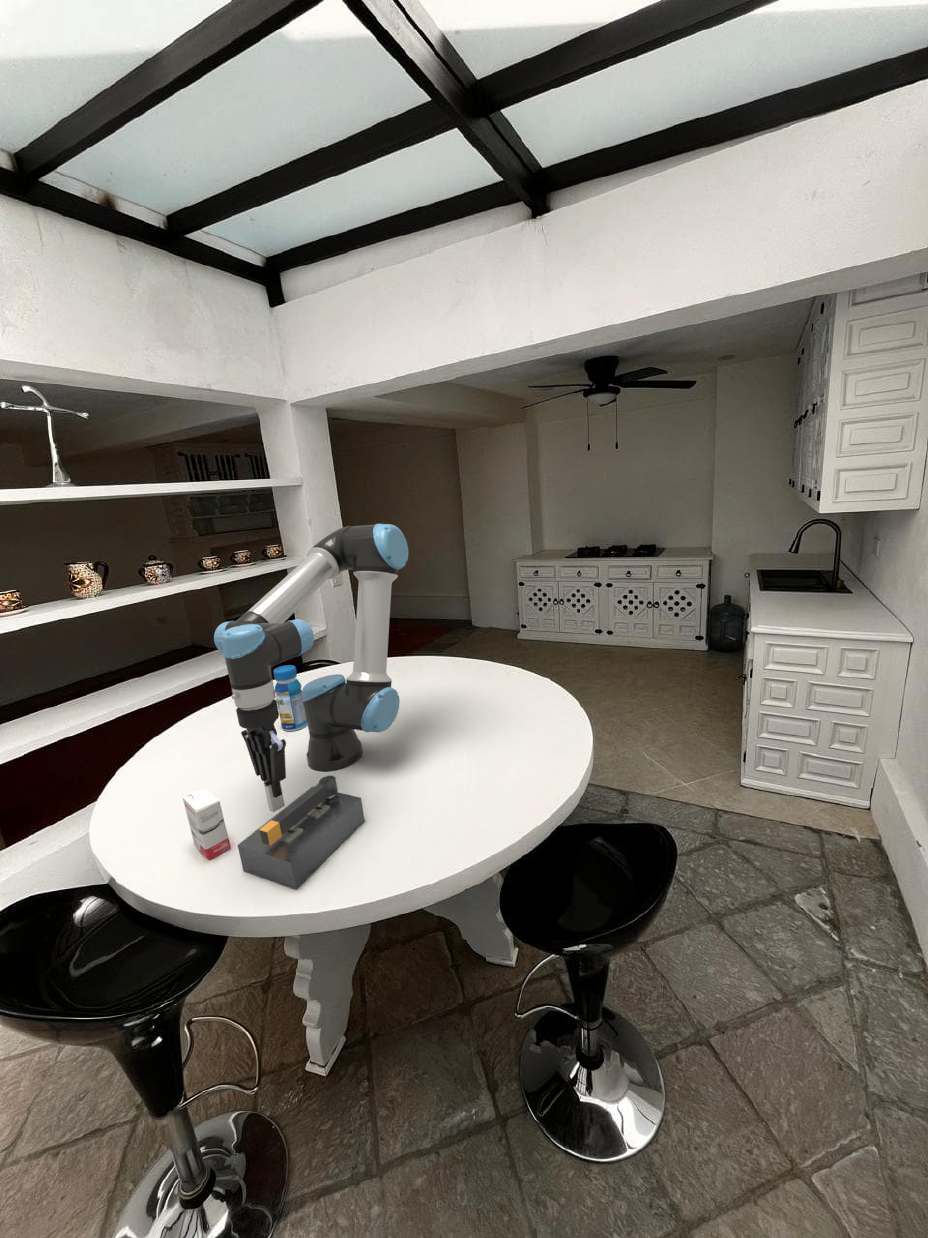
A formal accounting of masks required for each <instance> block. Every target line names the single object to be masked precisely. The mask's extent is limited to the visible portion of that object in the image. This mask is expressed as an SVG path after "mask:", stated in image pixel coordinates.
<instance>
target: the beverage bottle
mask: <svg viewBox="0 0 928 1238" xmlns="http://www.w3.org/2000/svg"><path fill="white" fill-rule="evenodd" d="M297 673H298V672H297V668H296V666H295V665H292V664H288V665H281V666H278V667H276V668H275V669H273V677H274V680H275V682H276V683H275V686H274V690H275V695H276V697H275V700H276V701H277V706H278V712H279V718H280V726H281V729H282V730H283V731H285V732H294V731H298V730H301V729H304V728H305V727H306V726H308V724H307V719H306V714H305V709H304V705H303V695H302V684H301V682H300V681H299V680H298V678H297V676H298V674H297Z"/></svg>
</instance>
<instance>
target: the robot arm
mask: <svg viewBox="0 0 928 1238" xmlns="http://www.w3.org/2000/svg"><path fill="white" fill-rule="evenodd" d="M408 559H409V546H408V542H407V540H406V537H405V535H404V533H403V532H402V531H401V529H400V528H399V527H398V526H396V525H394V524H391V523H390V524H388V523H385V524H384V523H375V524H367V525H366V524H365V525H349V526H348V525H347V526H344V527H341V528H338V529H337V530H334V531H333V532H331V533H329V534H328V535H326V536H325V537H323V538H322V539H321V540H320V541H318V542H317V543H316V544H315V545H313V546H312V547H311V548H310V549H309V550H308V551H307V552H306V558H305V559H303V561H301V562H300V563H299V564H298V565H297V566H296V567H295V568H294V569H292V570H291V571H290V572H289V573H288V574H287V575H286V576H285V577H284V578H283V579H282V580H281V581H280V582H279V583H277V584H276V585H275V586H274V587H273V588H272V589H270V591H268V592H267V593H266V594H265V595H263V596H262V597H261V598H260V599H259V601H257V602H256V603H254V604H253V606H252V607H251V608H250V609H248V611H245V613H244V614H243V615H241V616H240V617H239V618H238V619H237V620H230V621H225V622H222V623H221V624H219V625H218V626H217V627H216V629H215V632H214V635H213V641H214V644H215V647H216V649H217V650H218V651H219V652H220V653H222V655H223V657H224V660H225V665H226V668H227V672H228V674H227V675H228V677H229V682H230V686H231V693H232V695H231V699H232V700H233V702H234V704H235V707H237V708H236V710H235V711H236V717H237V721H238V725H239V726H240V727H241V728H243V729H244V730H242V731H241V732H240V734H241V736H242V738H243V740H244V742H245V745H246V748H247V749H246V750H247V751H248V755H249V757H250V760H251V763H252V766H253V769H254V772H255V775H256V776H257V777H259V776H260V780H261V781H262V782H263V786H264V787H263V788H264V790H265V792H264V793H265V796H266V800H267V801H266V802H267V806H268V809H269V810H268V811H270V812H272V813H275V812H278V810H280V809H282V808H285V806H286V804H285V800H284V794H283V789H282V784H281V781H283V780H286V778H287V776H286V775H287V773H286V772H287V771H286V751H285V749H286V747H287V741H286V740H285V739H284V738H283V739H280V738H279V737H278V733H277V732H278V731H277V729H276V726H275V723H276V721H277V720H278V719H279V718H280V715H279V710H278V705H277V701H276V693H275V686H274V681H273V675H272V667H274V666H277V665H279V664H281V663H283V662H286V661H288V660H290V659H294V658H297V657H300V656H302V655H303V654H304V653H306V652H308V651H310V649H311V648H312V647H313V645H314V641H315V637H314V632H313V629H312V627H311V625H309V623H308V622H307V621H305V620H302V619H297V618H296V619H293V620H288V619H289V618H290V617H291V616H292V615H293V614H294V613H295V612H297V610H299V608H300V607H301V606H302V605H303V604H305V602H306V601H307V600H308V599H310V598H311V596H312V595H313V594H314V593H315V592H316V591H317V590H318V589H320V587H322V586H323V584H324V583H325V582H326V581H327V580H330V579H334V578H335V577H337V576H338V575H339V574H340V573H343V572H346V571H350V570H353V571H352V572H353V575H354V576H355V577H356V579H357V581H358V589H357V590H358V591H357V603H356V604H357V606H356V616H355V617H356V620H355V633H354V634H355V636H354V649H353V650H354V651H353V652H354V653H353V667H352V673H351V674H349V675H348V676H347V677H345V676H344V675H343V674H341V673H339V674H338V673H337V674H329V675H324V676H321V677H318V678H315V679H313V680H311V681H309V682H307V683H306V684H305V685H304V686H303V688H301V690H302V695H303V705H304V709H305V714H306V719H307V729H308V733H309V735H308V736H309V739H308V740H309V741H308V745H307V752H306V760H307V765H308V767H309V768H310V769H312V770H314V771H318V772H330V771H335V770H339V769H343V768H346V767H348V766H350V765H352V764H354V763H356V762H357V761H359V760H360V759H361V757H362V756H363V752H364V751H363V745H362V744H363V743H362V742H361V740H360V739H359V737H358V734H357V733H356V731H363V732H364V733H382V732H385V731H387V730H388V729H389V728H390V727H391V726H392V725H393V723H394V722H395V720H396V718H397V716H398V713H399V710H400V703H401V701H400V696H399V693H398V691H397V689H395V688H394V687H392V683H393V682H392V681H393V680H392V678H390V676H389V675H388V674H387V667H388V650H389V649H388V648H389V633H390V631H389V630H390V617H391V616H390V615H391V598H392V585H393V584H392V583H393V582H394V581H395V580H396V579H398V578H399V570H400V569H402V568H404V567H405V566H406V564H407V562H408V561H409V560H408ZM355 730H356V731H355Z"/></svg>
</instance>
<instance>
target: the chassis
mask: <svg viewBox="0 0 928 1238" xmlns="http://www.w3.org/2000/svg"><path fill="white" fill-rule="evenodd" d="M313 787H314V786H311V787H310V788H308V790H306V791H305V792H303V793H302V794H301V795H300V796H298V797H297V798H296V799H295V800H293V801H292V802H291V803H289V804H288V805H287V806H286V807H283V809H282V810H281V811H279V812H278V813H276V814H275V815H274V816H272V818H270V819H269V820H267V821H266V822H265V823H264V824H262V825H261V826H260V827H258V828H257V829H256V830H255V831H253V832H252V833H251V834H249V835H248V836H247V837H246V838H245V839H243V840H242V841H241V842H240V843H238V844H237V849H238V854H239V858H240V863H241V865H242V870H243V871H242V872H245V873H247V874H250V875H254V876H255V877H259V878H261V879H264V880H266V881H270V882H272V883H275V884H279V885H281V886H284V887H286V888H289V889H292V890H294V891H297V890H298V889H299V888H300V887H301V886H302V885H303V884H304V883H305V882H306V881H307V880H308V879H309V878H310V877H311V876H313V874H314V873H315V872H316V871H317V870H318V869H319V868H320V867H321V866H322V865H323V864H324V863H325V862H326V861H327V860H328V859H329V858H330V857H331V856H332V855H333V854H334V853H336V851H337V850H338V849H339V848H340V847H341V846H342V845H343V844H344V843H345V842H346V841H347V840H348V839H349V838H350V837H351V836H352V835H353V834H354V833H355V832H356V831H357V830H358V829H359V828H360V827H361V826H362V825H363V824H364V823H365V822H366V820H365V813H364V808H363V807H364V806H363V800H362V797H360V796H354V795H351V794H346V793H343V792H338V791H337V793H336V794H335V795H333V796H330V797H328V798H326V799H325V800H324V801H323V802H322V803H320V804H319V805H318V806H317V807H316V808H314V809H313V810H312V811H311V812H310V813H309V814H307V815H306V816H305V817H304V818H303V819H301V820H300V821H299V822H298V823H297V824H295V825H294V826H293V827H292V828H291V829H289V830H288V831H287V832H286V833H285V834H284V835H282V837H281V838H279V839H278V840H277V841H276V842H275V843H273V844H272V845H271V846H268V845H264V844H262V841H261V836H260V832H259V829H261V828H262V827H263V826H264V825H266V824H267V823H268V822H270V821H271V820H273V819H274V818H275V817H276V816H278V815H279V814H280V813H282V812H283V811H284V810H285V809H287V808H288V807H289V806H290V805H292V804H293V803H294V802H296V801H297V800H298V799H299V798H301V797H302V796H303V795H304V794H306V793H307V792H308V791H310V790H311V789H312V788H313Z"/></svg>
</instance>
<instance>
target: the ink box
mask: <svg viewBox="0 0 928 1238" xmlns="http://www.w3.org/2000/svg"><path fill="white" fill-rule="evenodd" d="M182 802H183V804H184V808H185V809H184V810H185V812H186V816H187V821H188V825H189V828H190V833H191V837H192V840H193V844H194V846H195V847H196V848H197V849H198V850H199V851H200V852H201V854H202V855H203V856H204V857H205V858H206V859H207V860H208V861H210V860H212V859H214V858H216V857H217V856H220V855H222V854H224V853H225V852H226V851H229V850H230V849H231V848H232V847H231V842H230V838H229V834H228V830H227V826H226V822H225V818H224V815H223V810H222V806H221V801H220V799H219V798H218V797H216V796H215V795H214V794H213V793H212V792H211V791H210V790H209V789H207V788H206V787H204V788H202V789H199V790H195V791H193V792H191V793H189V794H186V795H185V796H183V797H182Z"/></svg>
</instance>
